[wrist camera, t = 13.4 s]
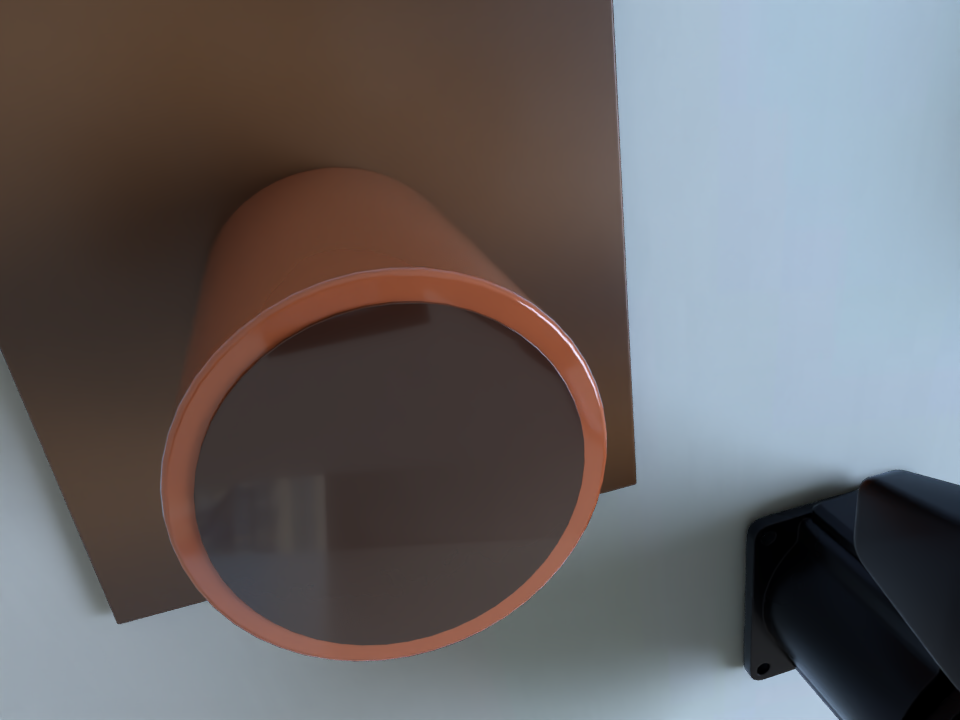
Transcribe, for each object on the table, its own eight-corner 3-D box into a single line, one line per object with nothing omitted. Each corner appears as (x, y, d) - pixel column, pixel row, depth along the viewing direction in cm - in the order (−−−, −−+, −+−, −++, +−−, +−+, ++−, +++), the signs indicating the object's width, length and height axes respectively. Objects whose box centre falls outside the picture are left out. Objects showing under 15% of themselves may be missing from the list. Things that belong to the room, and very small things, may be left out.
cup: (485, 388, 19) (622, 600, 12) (240, 447, 18) (231, 718, 11) (450, 144, 17) (598, 226, 10) (165, 194, 16) (87, 330, 8)
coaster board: (628, 474, 22) (637, 484, 22) (120, 609, 20) (116, 626, 19) (598, -79, 16) (610, -83, 16) (-131, 9, 14) (-147, 9, 13)
